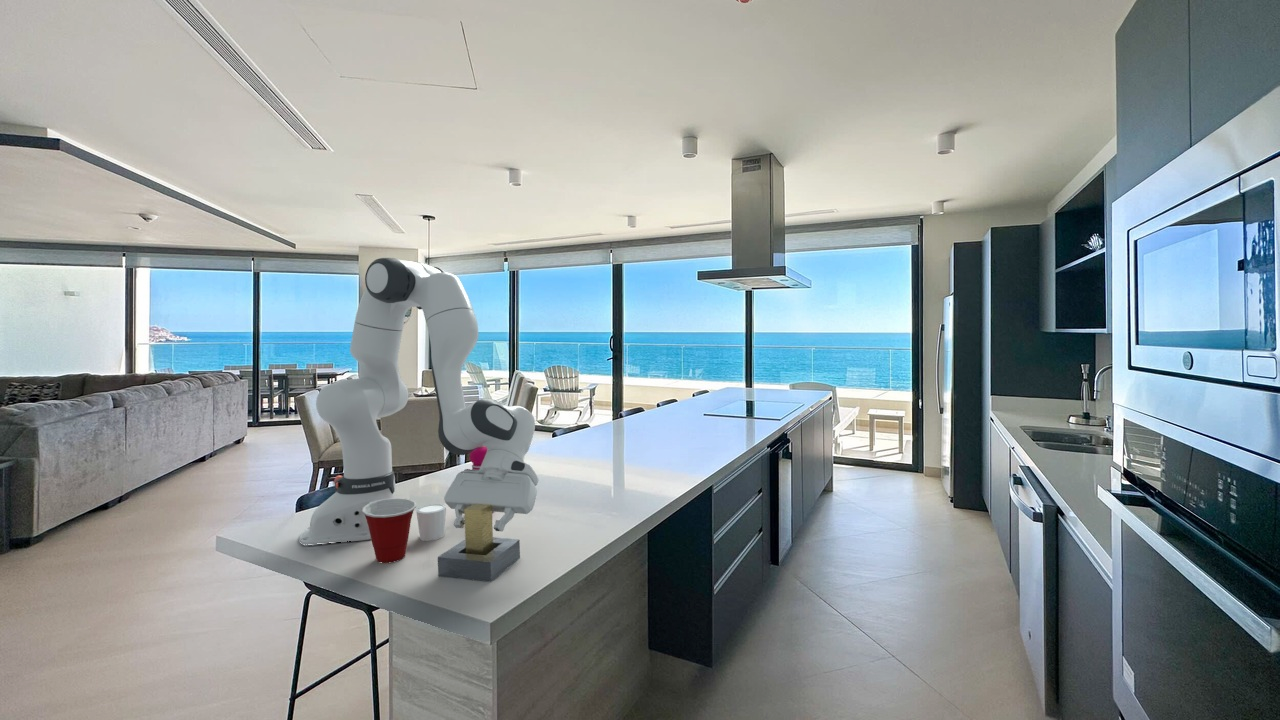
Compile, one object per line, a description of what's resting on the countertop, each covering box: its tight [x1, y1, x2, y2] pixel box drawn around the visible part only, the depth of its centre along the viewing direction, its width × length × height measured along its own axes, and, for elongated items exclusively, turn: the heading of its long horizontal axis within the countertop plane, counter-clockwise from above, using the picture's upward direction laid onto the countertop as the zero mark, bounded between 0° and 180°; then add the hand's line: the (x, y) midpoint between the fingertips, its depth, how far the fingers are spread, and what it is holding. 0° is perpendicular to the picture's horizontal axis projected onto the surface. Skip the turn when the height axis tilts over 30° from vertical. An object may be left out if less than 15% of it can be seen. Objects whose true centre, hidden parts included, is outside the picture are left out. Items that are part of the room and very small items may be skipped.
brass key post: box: [464, 504, 494, 555], centre depth 110 cm, size 4×4×12 cm
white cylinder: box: [415, 503, 447, 542], centre depth 128 cm, size 7×7×7 cm
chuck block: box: [437, 536, 521, 583], centre depth 110 cm, size 12×12×4 cm
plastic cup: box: [362, 497, 417, 564], centre depth 115 cm, size 11×11×12 cm
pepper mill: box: [469, 445, 494, 514], centre depth 146 cm, size 7×7×20 cm
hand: (477, 528), depth 109 cm, fingers open, 8 cm apart
